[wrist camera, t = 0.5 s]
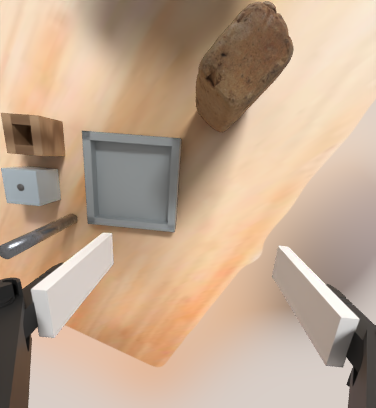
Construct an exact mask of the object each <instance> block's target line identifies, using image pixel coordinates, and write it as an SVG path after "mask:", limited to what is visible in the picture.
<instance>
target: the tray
mask: <svg viewBox="0 0 376 408" xmlns="http://www.w3.org/2000/svg"><path fill="white" fill-rule="evenodd" d="M82 139H83V155H84V171H85V187H86V203H87V219H88V224H97V225H107V226H117V227H128V228H138V229H148V230H159V231H169V232H175V229H176V217H177V202H178V187H179V171H180V156H181V141H182V139H180V138H168V137H155V136H142V135H129V134H117V133H104V132H91V131H82Z"/></svg>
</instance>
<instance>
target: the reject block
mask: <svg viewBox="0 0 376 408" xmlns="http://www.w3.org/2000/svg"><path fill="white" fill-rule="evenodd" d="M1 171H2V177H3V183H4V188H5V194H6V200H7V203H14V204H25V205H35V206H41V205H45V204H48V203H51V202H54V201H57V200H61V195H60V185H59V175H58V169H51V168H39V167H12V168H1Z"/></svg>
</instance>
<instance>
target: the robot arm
mask: <svg viewBox="0 0 376 408" xmlns="http://www.w3.org/2000/svg"><path fill="white" fill-rule="evenodd" d="M113 264H114V261H113V241H112V233H102V234H100V235H99V236H98V237H97V238H95V239H94V240H93V241H91V242H90V243H89V244H88V245H86V246H85V247H84V248H83V249H81V250H80V251H79V252H77V253H76V254H75V255H74V256H72V257H71V258H70V259H69V260H67V261H66V262H65V263H60V264H57V265H55V266H53V267H52V268H50V269H49V270H47V271H46V272H45V273H43V274H42V275H41V276H39V278H37V279H35V280H34V281H33V282H31V283H30V284H29V285H27V286H26V287H25V288H23V289H22V287H21V282H20V279H18V278H6V279H2V280H0V408H28V399H29V380H30V363H31V345H32V338H31V333H32V332H33V331H34V330H35V329H36V328H37V327H38V332H39V336H41V337H51V338H54V337H55V336H56V335H57V334H58V332H59V331H60V330H61V329H62V327H63V326H64V325H65V324H66V322H67V321H68V320H69V319H70V317H71V316H72V315H73V314H74V312H75V311H76V310H77V309H78V307H79V306H80V305H81V304H82V302H83V301H84V300H85V299H86V297H87V296H88V295H89V294H90V293H91V291H92V290H93V289H94V288H95V286H96V285H97V284H98V283H99V281H100V280H101V279H102V278H103V276H104V275H105V274H106V273H107V271H108V270H109V269H110V268H111V266H112V265H113ZM272 277H273V279H274V281H275V283H276V284H277V286H278V287H279V289H280V291H281V292H282V294H283V296H284V297H285V299H286V301H287V302H288V304H289V305H290V307H291V309H292V311H293V312H294V313H295V316H296V317H297V319H298V320H299V322H300V324H301V325H302V327H303V329H304V330H305V332H306V334H307V335H308V337H309V339H310V340H311V342H312V344H313V345H314V347H315V348H316V350H317V352H318V353H319V355H320V357H321V358H322V360H323V362H324V363H325V365H326V366H335V367H343V366H344V363H345V360H346V357H347V358H348V360H349V361H350V362H351V364H352V365H353V368H352V371H351V373H350V376H349V379H348V382H347V385H348V386H349V387H350V389H349V402H348V408H376V325H374V324H373V323H372V322H371V321H370V320H369V319H368V318H367V317H366V316H365V315H364V314H363V313H362V312H360V311H359V310H358V309H357V308H356V307H355V306H354V305H352V303H351V302H350V301H349V300H348V299H346V297H345V296H344V295H343V294H342V293H341V292H340V291H339V290H337V289H335V288H334V287H332V286H331V285H328V284H324V283H323V281H322V280H321V279H320V278H319V277H318V276H317V275H316V274H315V273H314V272H313V271H312V270H311V269H310V268H309V267H308V266H307V265H306V264H305V263H303V261H302V260H301V259H300V258H299V257H298V256H297V255H296V254H295V253H294V252H293V251H292V250H291V249H290V248H289V247H286V246H278V249H277V254H276V259H275V264H274V269H273V275H272Z"/></svg>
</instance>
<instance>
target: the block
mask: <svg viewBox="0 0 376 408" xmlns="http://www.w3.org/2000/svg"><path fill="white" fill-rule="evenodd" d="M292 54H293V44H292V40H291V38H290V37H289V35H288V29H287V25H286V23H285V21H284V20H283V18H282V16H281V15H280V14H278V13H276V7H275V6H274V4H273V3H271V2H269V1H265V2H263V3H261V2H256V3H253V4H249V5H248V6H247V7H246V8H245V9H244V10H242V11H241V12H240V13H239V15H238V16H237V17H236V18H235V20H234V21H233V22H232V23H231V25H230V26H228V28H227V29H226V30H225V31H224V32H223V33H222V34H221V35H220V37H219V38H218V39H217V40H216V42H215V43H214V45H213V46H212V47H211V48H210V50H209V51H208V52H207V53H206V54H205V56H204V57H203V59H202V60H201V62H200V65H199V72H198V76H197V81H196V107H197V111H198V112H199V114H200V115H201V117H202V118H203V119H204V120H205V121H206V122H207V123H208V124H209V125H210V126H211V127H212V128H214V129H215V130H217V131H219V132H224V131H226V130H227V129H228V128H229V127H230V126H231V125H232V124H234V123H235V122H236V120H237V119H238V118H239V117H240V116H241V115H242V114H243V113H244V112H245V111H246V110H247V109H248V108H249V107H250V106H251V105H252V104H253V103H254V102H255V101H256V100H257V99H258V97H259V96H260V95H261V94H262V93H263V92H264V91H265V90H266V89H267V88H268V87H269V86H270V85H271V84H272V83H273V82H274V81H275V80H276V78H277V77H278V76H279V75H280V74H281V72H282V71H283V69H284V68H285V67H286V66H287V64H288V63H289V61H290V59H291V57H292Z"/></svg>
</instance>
